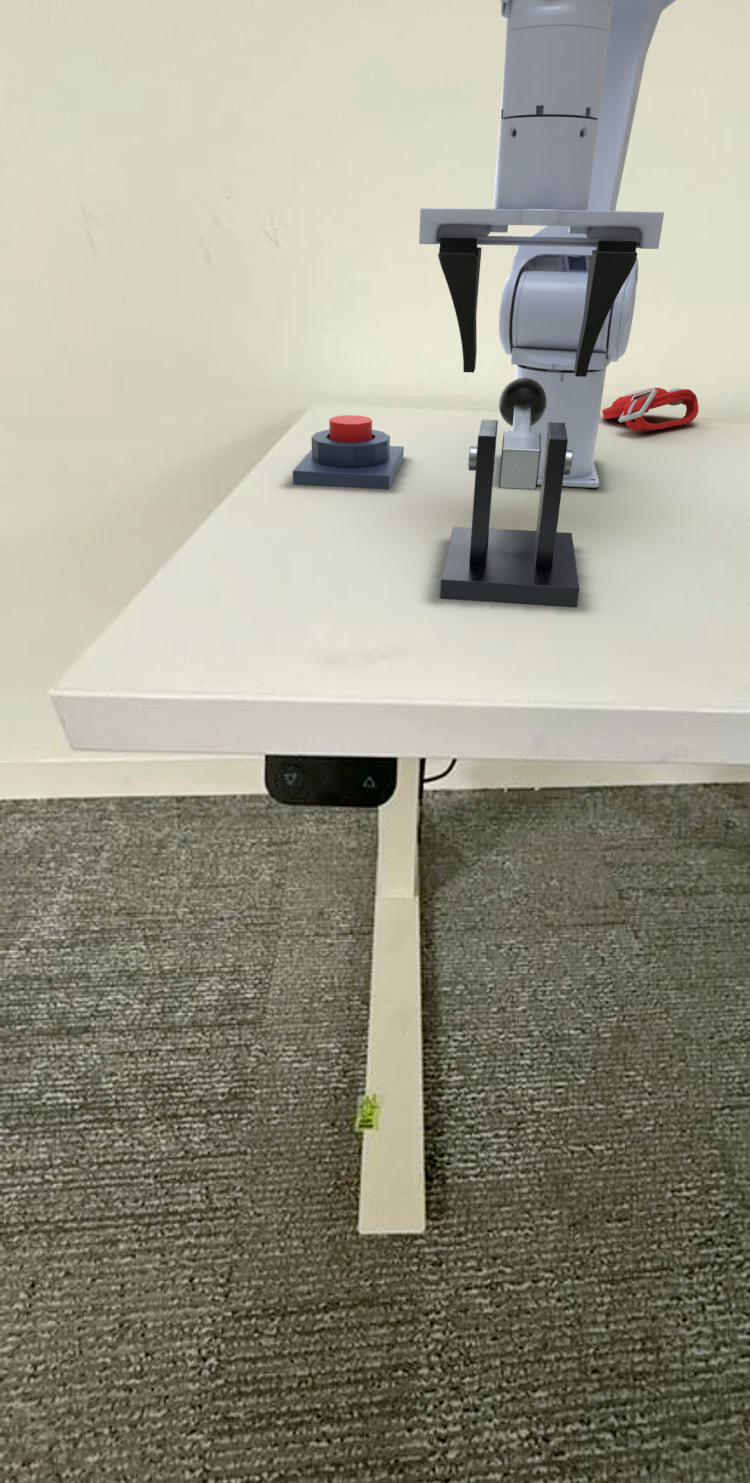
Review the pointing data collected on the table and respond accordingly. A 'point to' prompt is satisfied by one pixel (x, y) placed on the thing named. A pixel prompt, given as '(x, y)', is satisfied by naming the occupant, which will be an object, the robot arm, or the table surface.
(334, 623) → the table surface
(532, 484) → the lever
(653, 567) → the table surface
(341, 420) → the button
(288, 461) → the table surface
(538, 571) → the bracket
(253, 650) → the table surface
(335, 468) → the box
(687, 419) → the red strap with buckle
